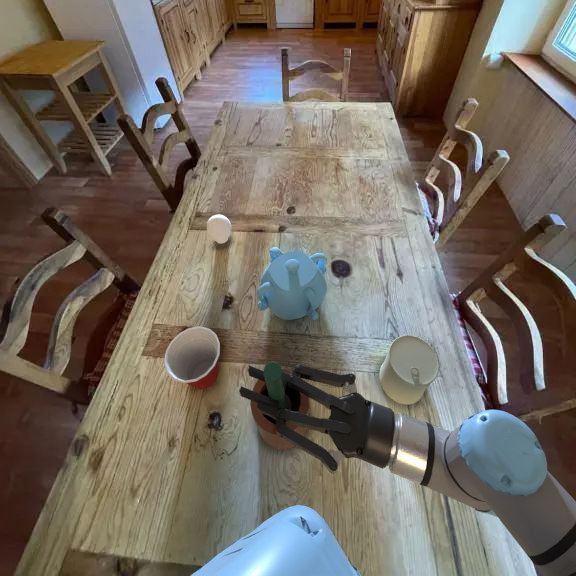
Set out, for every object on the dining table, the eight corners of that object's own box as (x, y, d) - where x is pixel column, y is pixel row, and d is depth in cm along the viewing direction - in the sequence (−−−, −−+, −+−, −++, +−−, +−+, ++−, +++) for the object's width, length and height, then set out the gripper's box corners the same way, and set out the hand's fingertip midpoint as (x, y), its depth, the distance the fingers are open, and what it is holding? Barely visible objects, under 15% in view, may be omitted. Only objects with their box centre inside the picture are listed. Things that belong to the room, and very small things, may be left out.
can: (380, 401, 69) (390, 381, 61) (378, 354, 75) (387, 330, 67) (427, 408, 68) (444, 388, 59) (421, 359, 74) (435, 336, 66)
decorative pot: (315, 335, 79) (317, 307, 70) (251, 315, 83) (245, 285, 74) (331, 277, 90) (335, 245, 81) (274, 261, 94) (272, 230, 85)
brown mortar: (298, 459, 63) (297, 445, 54) (249, 437, 65) (240, 420, 56) (314, 401, 69) (316, 380, 60) (269, 383, 72) (264, 360, 63)
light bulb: (227, 230, 103) (221, 205, 95) (239, 244, 99) (233, 219, 91) (207, 241, 100) (199, 216, 92) (218, 256, 96) (210, 231, 88)
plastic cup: (213, 338, 79) (202, 314, 71) (239, 376, 73) (230, 354, 65) (170, 371, 74) (153, 349, 66) (194, 415, 68) (179, 396, 60)
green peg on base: (287, 431, 61) (281, 393, 46) (264, 422, 62) (251, 381, 47) (295, 405, 64) (292, 361, 49) (273, 396, 65) (264, 350, 50)
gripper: (378, 510, 47) (227, 440, 53) (393, 391, 58) (265, 344, 64) (387, 505, 42) (218, 428, 48) (402, 375, 52) (262, 326, 59)
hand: (245, 380), depth 56 cm, fingers closed on green peg on base, 3 cm apart
